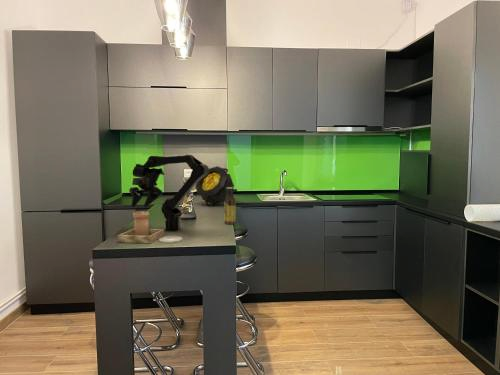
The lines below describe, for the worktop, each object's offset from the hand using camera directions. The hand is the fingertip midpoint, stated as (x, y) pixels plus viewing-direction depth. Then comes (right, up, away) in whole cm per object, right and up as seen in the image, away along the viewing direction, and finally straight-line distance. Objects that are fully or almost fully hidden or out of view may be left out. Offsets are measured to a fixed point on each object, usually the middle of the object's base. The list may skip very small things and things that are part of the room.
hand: (138, 206), depth 173 cm
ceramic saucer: (+19, -14, -15) cm, 28 cm away
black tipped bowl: (+28, -4, +98) cm, 102 cm away
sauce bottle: (+43, -11, +24) cm, 50 cm away
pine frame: (+5, -14, -12) cm, 19 cm away
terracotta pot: (+5, -14, -12) cm, 19 cm away
